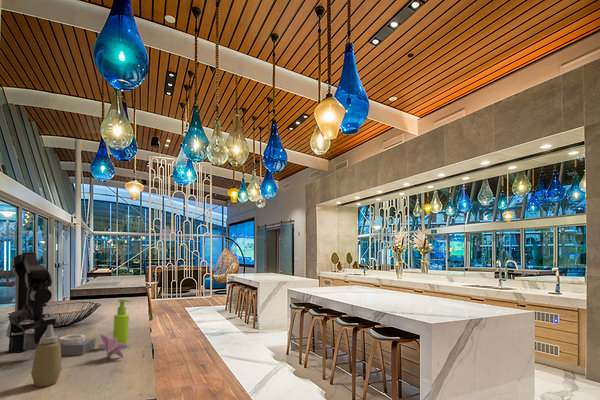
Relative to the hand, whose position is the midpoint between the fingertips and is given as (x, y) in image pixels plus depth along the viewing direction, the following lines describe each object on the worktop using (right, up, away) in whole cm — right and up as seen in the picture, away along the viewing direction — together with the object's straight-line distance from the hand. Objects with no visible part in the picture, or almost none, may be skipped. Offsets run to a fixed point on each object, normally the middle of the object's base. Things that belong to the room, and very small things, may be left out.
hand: (31, 343), depth 152 cm
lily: (+31, -7, 0) cm, 32 cm away
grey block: (0, -2, 0) cm, 2 cm away
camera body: (+9, -8, +11) cm, 16 cm away
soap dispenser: (+25, -9, +21) cm, 34 cm away
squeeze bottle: (+24, -3, -28) cm, 37 cm away
